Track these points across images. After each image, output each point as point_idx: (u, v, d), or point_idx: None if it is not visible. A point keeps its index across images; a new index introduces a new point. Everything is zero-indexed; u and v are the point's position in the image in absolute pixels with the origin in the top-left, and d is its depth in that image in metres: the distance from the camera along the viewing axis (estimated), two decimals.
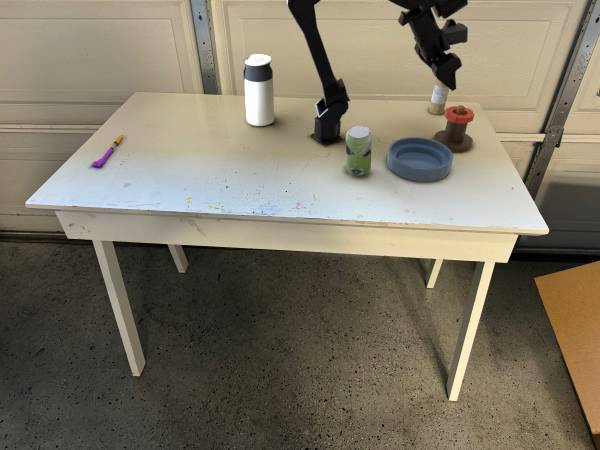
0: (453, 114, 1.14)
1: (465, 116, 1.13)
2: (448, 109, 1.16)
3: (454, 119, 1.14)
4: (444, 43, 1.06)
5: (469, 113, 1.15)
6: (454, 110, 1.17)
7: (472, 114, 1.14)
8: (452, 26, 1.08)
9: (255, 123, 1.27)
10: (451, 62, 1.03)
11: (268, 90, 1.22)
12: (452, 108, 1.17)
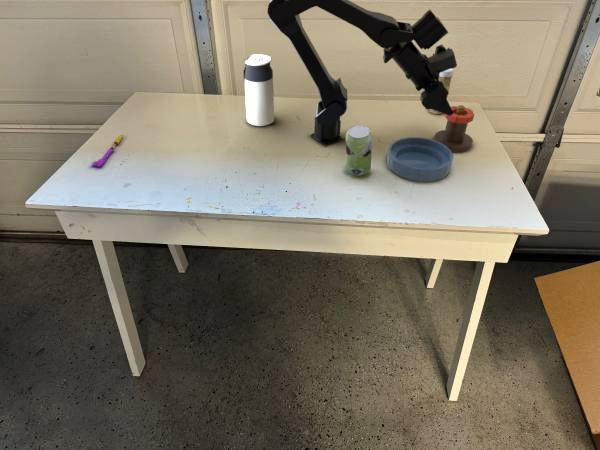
0: (453, 114, 1.14)
1: (465, 116, 1.13)
2: None
3: (454, 119, 1.14)
4: (431, 72, 1.07)
5: (469, 113, 1.15)
6: (454, 110, 1.17)
7: (472, 114, 1.14)
8: (440, 53, 1.08)
9: (255, 123, 1.27)
10: (435, 92, 1.03)
11: (268, 90, 1.22)
12: (452, 108, 1.17)
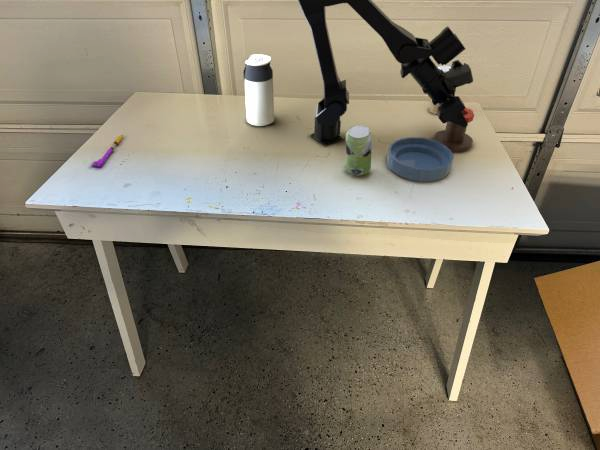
0: None
1: (465, 116, 1.13)
2: None
3: None
4: (448, 87, 1.09)
5: (469, 113, 1.15)
6: None
7: (472, 114, 1.14)
8: (457, 68, 1.10)
9: (255, 123, 1.27)
10: (453, 107, 1.05)
11: (268, 90, 1.22)
12: None
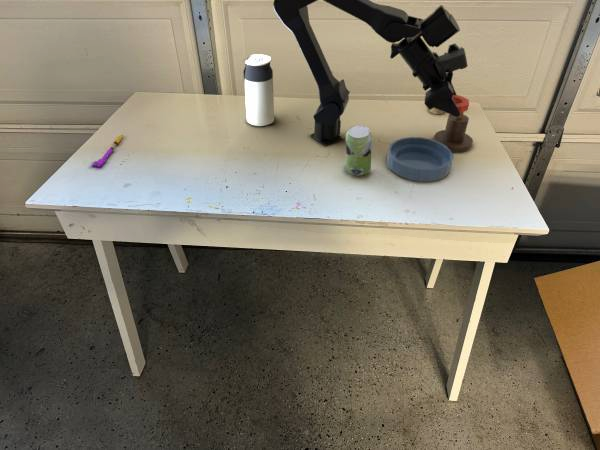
0: None
1: (458, 105, 1.06)
2: None
3: None
4: (439, 71, 1.02)
5: (464, 102, 1.07)
6: None
7: (467, 103, 1.06)
8: (452, 52, 1.02)
9: (255, 123, 1.27)
10: (439, 92, 0.98)
11: (268, 90, 1.22)
12: None
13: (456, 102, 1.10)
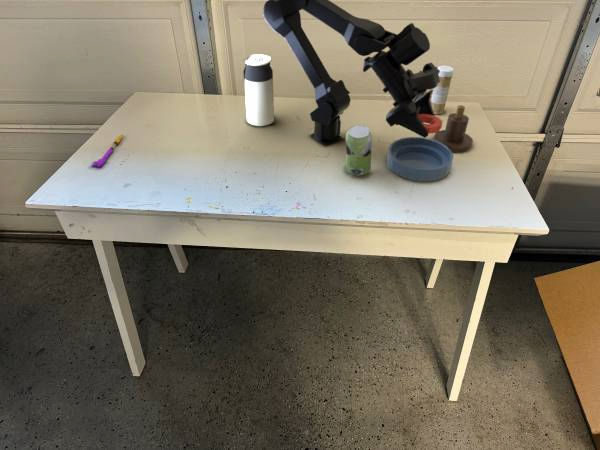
0: None
1: (427, 125, 1.03)
2: None
3: None
4: (407, 89, 1.00)
5: (435, 123, 1.03)
6: (424, 118, 1.06)
7: (437, 125, 1.03)
8: (425, 71, 1.00)
9: (255, 123, 1.27)
10: (398, 110, 0.97)
11: (268, 90, 1.22)
12: (422, 115, 1.06)
13: (431, 123, 1.06)
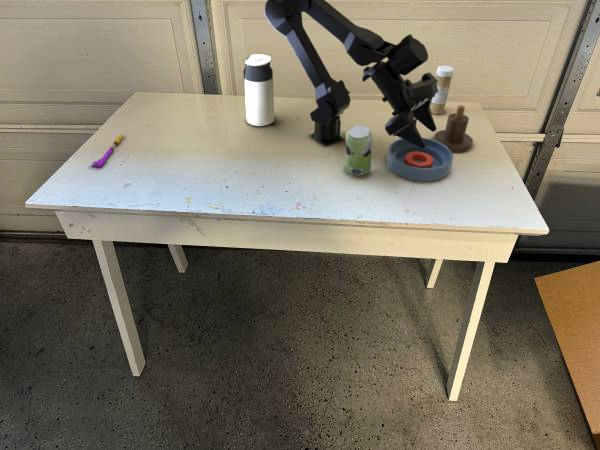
0: (409, 159, 1.11)
1: (419, 164, 1.09)
2: (409, 153, 1.13)
3: (408, 164, 1.10)
4: (405, 99, 1.01)
5: (427, 162, 1.10)
6: (416, 155, 1.13)
7: (429, 163, 1.09)
8: (423, 81, 1.01)
9: (255, 123, 1.27)
10: (397, 119, 0.98)
11: (268, 90, 1.22)
12: (415, 153, 1.13)
13: (423, 160, 1.13)
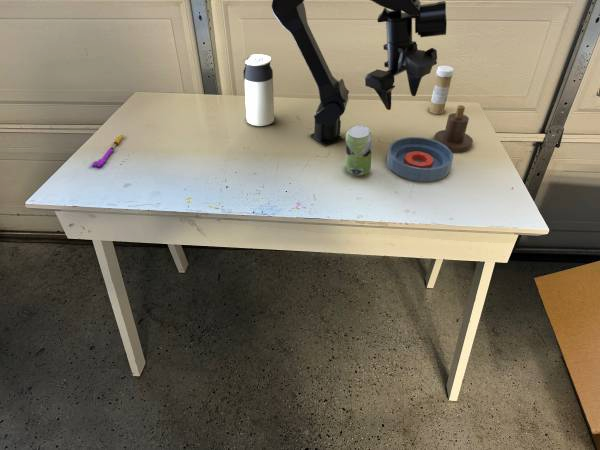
0: (409, 159, 1.11)
1: (419, 164, 1.09)
2: (409, 153, 1.13)
3: (408, 164, 1.10)
4: (399, 62, 1.03)
5: (427, 162, 1.10)
6: (416, 155, 1.13)
7: (429, 163, 1.09)
8: (424, 56, 1.02)
9: (255, 123, 1.27)
10: (376, 79, 1.02)
11: (268, 90, 1.22)
12: (415, 153, 1.13)
13: (423, 160, 1.13)
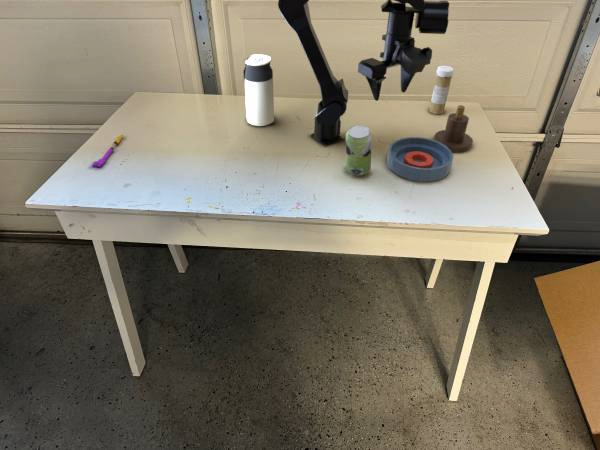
0: (409, 159, 1.11)
1: (419, 164, 1.09)
2: (409, 153, 1.13)
3: (408, 164, 1.10)
4: (394, 55, 1.04)
5: (427, 162, 1.10)
6: (416, 155, 1.13)
7: (429, 163, 1.09)
8: (419, 53, 1.03)
9: (255, 123, 1.27)
10: (368, 67, 1.03)
11: (268, 90, 1.22)
12: (415, 153, 1.13)
13: (423, 160, 1.13)
